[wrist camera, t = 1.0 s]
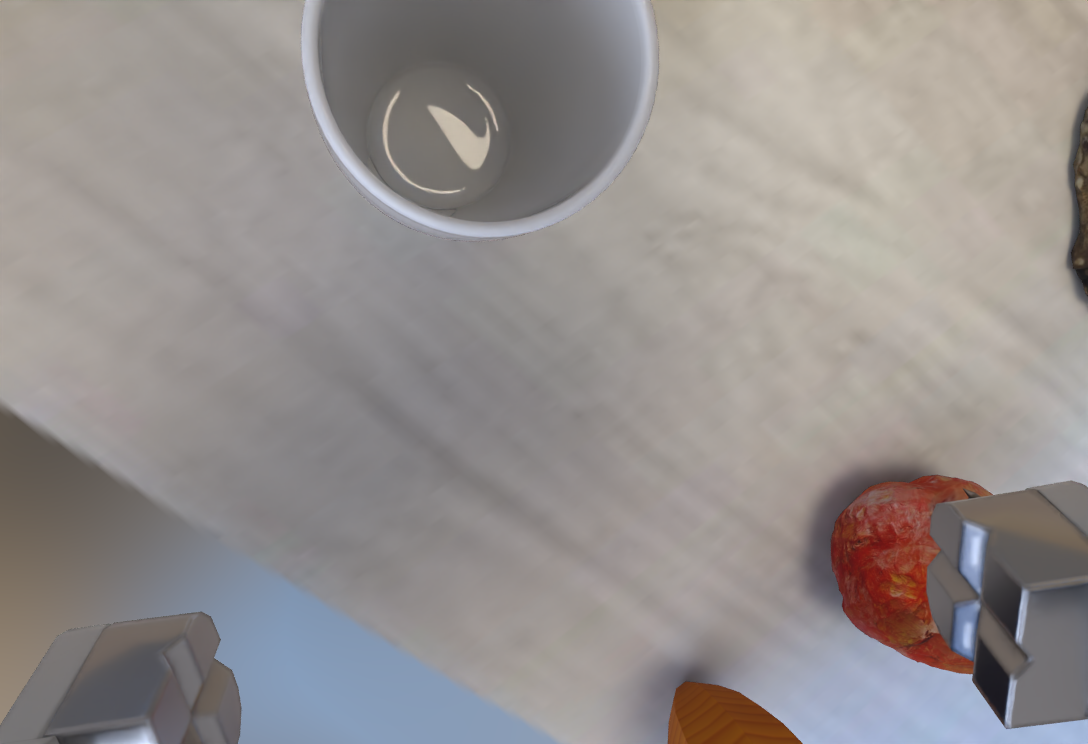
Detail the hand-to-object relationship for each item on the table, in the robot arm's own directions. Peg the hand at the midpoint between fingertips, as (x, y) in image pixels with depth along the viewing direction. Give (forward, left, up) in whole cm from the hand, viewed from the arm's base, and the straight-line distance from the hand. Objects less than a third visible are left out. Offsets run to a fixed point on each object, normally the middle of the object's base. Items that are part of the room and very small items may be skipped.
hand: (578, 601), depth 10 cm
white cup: (-5, +5, -23) cm, 24 cm away
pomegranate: (+19, +7, -23) cm, 30 cm away
